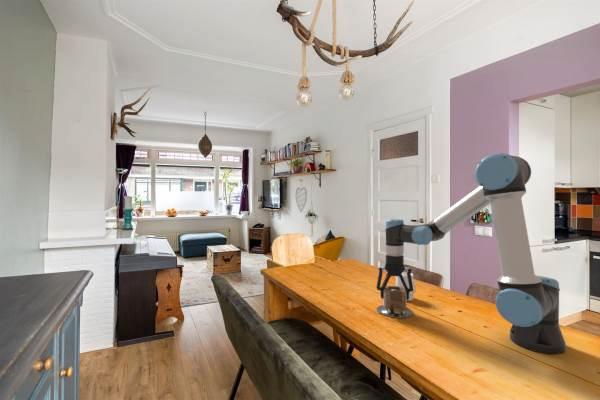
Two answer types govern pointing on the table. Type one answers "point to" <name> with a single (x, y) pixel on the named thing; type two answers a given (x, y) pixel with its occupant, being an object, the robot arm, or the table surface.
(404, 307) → the collar
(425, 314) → the table surface
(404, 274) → the mug
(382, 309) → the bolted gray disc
